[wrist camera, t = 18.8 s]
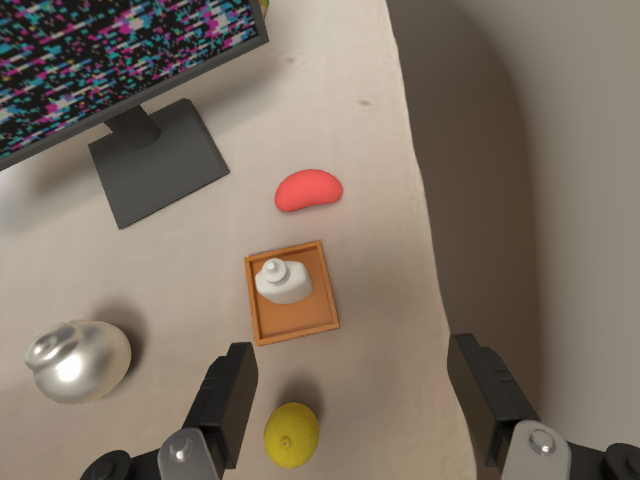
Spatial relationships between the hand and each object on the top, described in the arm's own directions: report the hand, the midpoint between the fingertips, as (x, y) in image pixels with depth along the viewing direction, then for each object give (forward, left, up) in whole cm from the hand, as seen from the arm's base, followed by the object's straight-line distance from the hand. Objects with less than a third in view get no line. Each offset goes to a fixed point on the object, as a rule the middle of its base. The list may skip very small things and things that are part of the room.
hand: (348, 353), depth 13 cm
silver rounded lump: (+6, +29, -27) cm, 40 cm away
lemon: (-6, +7, -27) cm, 29 cm away
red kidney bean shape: (+22, 0, -27) cm, 34 cm away
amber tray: (+9, +5, -27) cm, 29 cm away
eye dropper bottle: (+9, +5, -26) cm, 28 cm away
